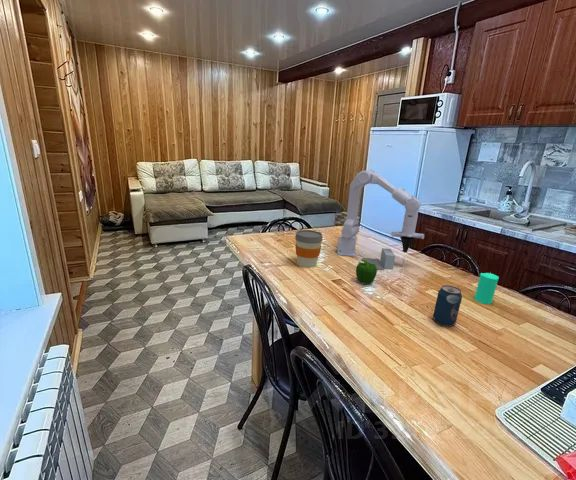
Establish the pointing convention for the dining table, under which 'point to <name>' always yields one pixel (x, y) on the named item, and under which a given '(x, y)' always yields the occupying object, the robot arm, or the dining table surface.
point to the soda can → (447, 305)
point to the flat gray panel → (376, 262)
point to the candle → (486, 288)
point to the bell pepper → (366, 272)
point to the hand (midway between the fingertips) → (404, 251)
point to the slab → (387, 258)
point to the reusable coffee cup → (308, 247)
